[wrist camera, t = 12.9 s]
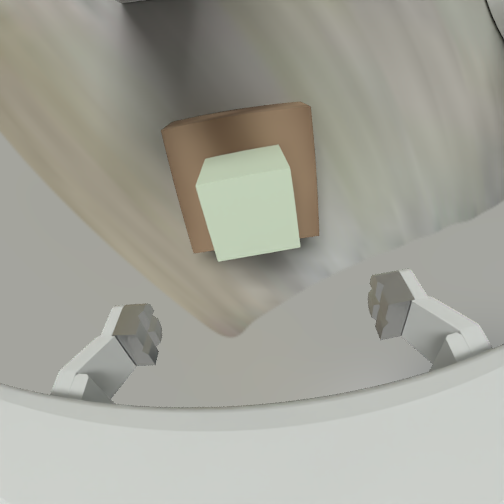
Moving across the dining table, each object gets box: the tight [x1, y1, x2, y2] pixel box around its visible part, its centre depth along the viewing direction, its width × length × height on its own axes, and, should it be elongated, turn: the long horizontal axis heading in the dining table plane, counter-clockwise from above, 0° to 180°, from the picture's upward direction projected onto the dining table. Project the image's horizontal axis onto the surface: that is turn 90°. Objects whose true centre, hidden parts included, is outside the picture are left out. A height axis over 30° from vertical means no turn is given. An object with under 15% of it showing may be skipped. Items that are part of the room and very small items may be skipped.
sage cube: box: [196, 145, 300, 262], centre depth 19 cm, size 5×5×5 cm
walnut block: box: [161, 102, 319, 253], centre depth 22 cm, size 10×10×4 cm
